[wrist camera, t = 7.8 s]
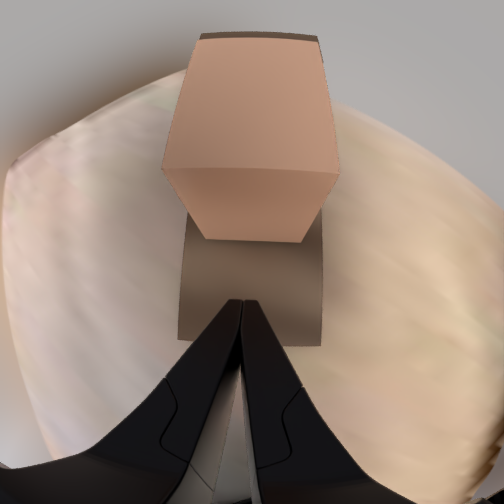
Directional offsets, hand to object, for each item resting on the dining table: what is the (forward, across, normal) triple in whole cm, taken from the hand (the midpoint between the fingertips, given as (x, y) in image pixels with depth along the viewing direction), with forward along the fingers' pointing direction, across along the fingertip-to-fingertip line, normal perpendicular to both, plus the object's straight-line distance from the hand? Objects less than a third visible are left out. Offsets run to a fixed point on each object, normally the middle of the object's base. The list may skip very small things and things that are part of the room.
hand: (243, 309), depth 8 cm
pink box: (+12, 0, 0) cm, 12 cm away
